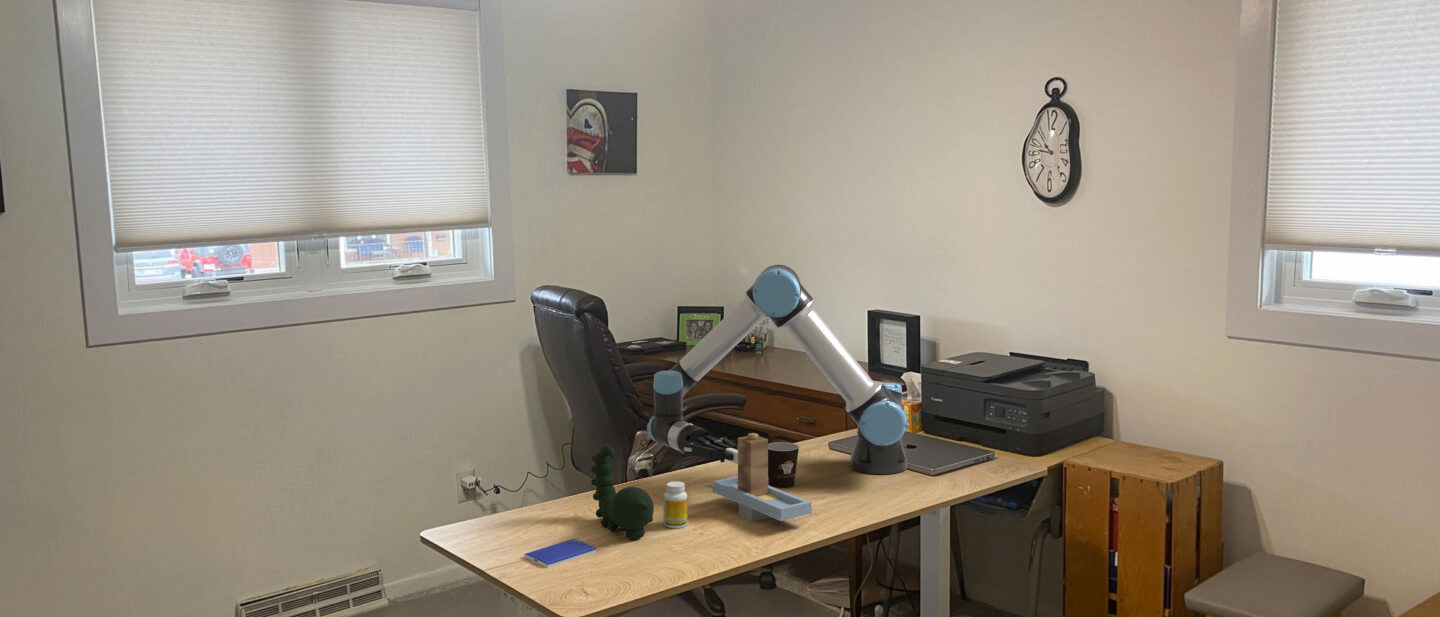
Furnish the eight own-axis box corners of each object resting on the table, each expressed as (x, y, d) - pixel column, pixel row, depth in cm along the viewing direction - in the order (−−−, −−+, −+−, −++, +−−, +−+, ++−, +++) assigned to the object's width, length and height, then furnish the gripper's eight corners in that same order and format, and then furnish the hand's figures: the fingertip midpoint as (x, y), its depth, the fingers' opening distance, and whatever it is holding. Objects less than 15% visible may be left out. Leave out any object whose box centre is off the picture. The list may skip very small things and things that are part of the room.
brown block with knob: (737, 492, 242) (737, 433, 240) (754, 488, 245) (754, 430, 243) (750, 497, 238) (750, 438, 236) (767, 493, 241) (768, 435, 239)
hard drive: (572, 537, 222) (524, 552, 213) (596, 547, 216) (547, 562, 208) (573, 544, 222) (524, 560, 214) (596, 554, 216) (547, 570, 208)
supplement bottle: (660, 523, 234) (659, 482, 233) (681, 519, 236) (681, 479, 235) (669, 530, 229) (669, 488, 228) (691, 526, 232) (691, 485, 230)
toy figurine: (583, 526, 237) (628, 550, 216) (578, 444, 236) (624, 460, 215) (620, 519, 242) (668, 542, 220) (616, 439, 241) (664, 454, 219)
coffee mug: (799, 480, 267) (799, 442, 265) (798, 490, 258) (798, 451, 257) (754, 479, 268) (754, 441, 267) (751, 489, 259) (751, 450, 258)
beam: (712, 503, 248) (712, 481, 247) (742, 497, 253) (742, 474, 252) (780, 534, 227) (780, 509, 226) (811, 526, 232) (812, 502, 231)
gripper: (710, 449, 266) (766, 470, 247) (667, 457, 258) (721, 479, 239) (710, 421, 265) (766, 439, 246) (667, 428, 257) (721, 448, 238)
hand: (744, 459), depth 243 cm, fingers closed
